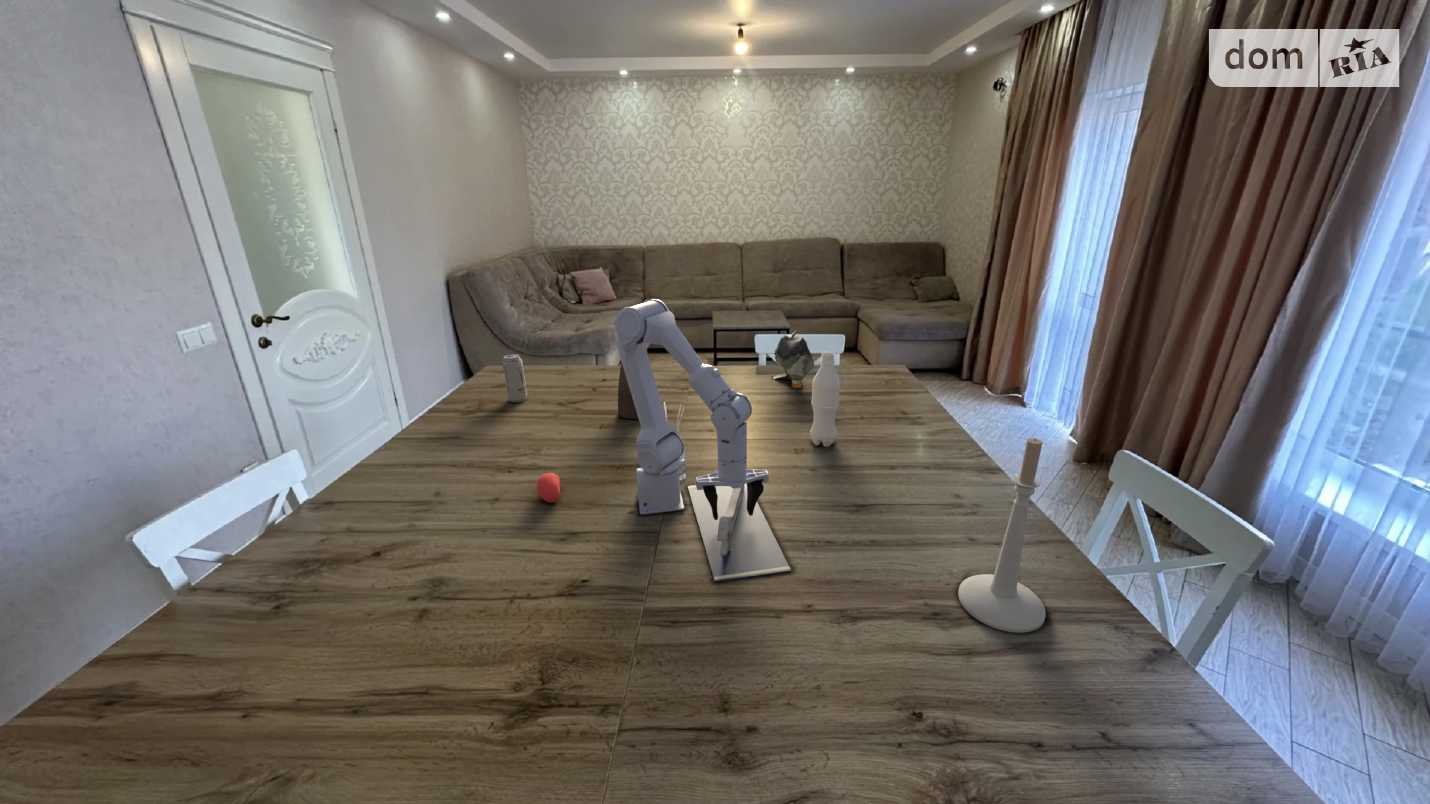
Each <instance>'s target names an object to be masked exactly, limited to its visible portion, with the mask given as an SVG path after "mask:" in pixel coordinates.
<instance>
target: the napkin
mask: <svg viewBox="0 0 1430 804" xmlns="http://www.w3.org/2000/svg"><path fill="white" fill-rule="evenodd" d="M715 488H716V492H717V495H718V499H717V512H718V520H714V518H713V514H712V508H711V505H710V503H709V501H708V500H707V498H706V496H705V494H704V491H703V489H702V490H697V488H696V484H691V485H687V490H688V495H689V497H690V500H691V504H692V507H693V510H694V514H695V518H696V521H697V525H698V528H699V533H700V536H701V538H702V543H703V545H704V549H705V552H706V553H705V554H706V556H707V560H708V562H709V566H710V570H711V573H712V578H713V581H714V583H717V582H726V581H732V580H739V579H747V578H753V577H762V576H769V575H774V574H781V573H789V572H792V568H791V567H790V566H789V563H788V562H787V558H786V557H785V555H784V552H783V551H782V549H781V547H780V545H779V543H778V540H777V539H776V537H775V535H774V533H773V530H772V528H771V527H770V525H769V522H768V520H767V518H766V517H765V515H764V512H763V511H762V508H761V507H760V505H759V503H758V501H757V502H756V505H755V508H754V511H753V515H752V516H749V514H748V511H747V483H746V484H744V491H743V495H742V498H741V502H740V505H739V509H738V512H737V516H736V520H735V523H734V527H733V534H732V541H731V551H728V553H727V554H726V555H725V556H722V555H720V547H721V542H719V541H717V535H718V526H719V521H720V517H721V516H724V515H725V514H726V511H727V508H728V504H729V501H730V498H731V495H732V492H733V488H731V487H730V486H716V487H715Z"/></svg>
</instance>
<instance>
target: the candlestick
mask: <svg viewBox="0 0 1430 804" xmlns="http://www.w3.org/2000/svg"><path fill="white" fill-rule="evenodd" d="M1043 444H1044V443H1043V441H1042V440H1041V439H1038V438H1036V437H1034V438H1033V437H1029V438H1027V439H1026V444H1025V449H1024V452H1023V457H1022V462H1021V466H1020V467H1021V468H1020V473H1019V475H1015V476H1013V477H1012V481H1013V482H1014V483H1015V486H1014V491H1015V493H1016V498H1015V499H1014V500H1013V504H1012V505H1013V506H1012V509H1011V514H1010V516H1009V519H1008V523H1007V527H1006V530H1005V534H1004V538H1003V541H1002V546H1001V549H1000V552H999V556H998V561H997V563H996V567H995V570H994V574H991V573H990V574H989V573H985V574H976V575H972V576H969V577H967V578H965V579H964V580H963V581H962V582H961V583H960V584H959V587H958V592H957V595H958V600H959V602H960V604H961V606H962V607H963V608H964V610H965V611H966V612H967V613H968V614H969V615H970V616H972V617H973V618H974V619H976V620H977V621H979V622H981V624H982V623H983V624H984V625H987V626H988V627H991V628H994V629H996V630H1000V631H1003V632H1009V633H1015V634H1016V633H1017V634H1018V633H1019V634H1020V633H1022V634H1024V633H1030V632H1034V631H1036V630H1038V629H1040V628H1041V627H1042V626H1043V625H1044V623H1045V622H1046V621H1045V620H1046V617H1047V616H1046V615H1047V613H1046V608H1045V605H1044V603H1043V602H1042V600H1041V599H1040V598H1039V597H1038V595H1037V594H1036V593H1035V592H1033V591H1032V590H1031V589H1029V588H1028V587H1026V585H1024V584H1023V583H1020V582H1018V580H1019V576H1020V575H1019V574H1020V568H1021V562H1022V554H1023V548H1024V541H1025V535H1026V527H1027V521H1028V514H1029V507H1030V502H1029V500H1030V498H1031V497H1032V496H1033V495H1034V494H1035V489H1037V488H1039V487H1040V486H1041V483H1040V481H1039V480H1037V479H1036V476H1037V475H1036V474H1037V470H1038V466H1039V461H1040V456H1041V453H1042V448H1043Z"/></svg>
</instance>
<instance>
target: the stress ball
mask: <svg viewBox="0 0 1430 804" xmlns="http://www.w3.org/2000/svg"><path fill="white" fill-rule="evenodd" d="M560 483H561V480H560V477H559V476H558V474H556V473H554V472H546V473H543V474H542V475H541V476H540V477H539V478H538V479H537V483H536V490H537V493H538V496H539V497H540V498H541V499H542V501H545V502H547V503H550V504H551V503H552V504H553V503H555V502H557V501H558V500H559V498H560V497H561V487H560Z"/></svg>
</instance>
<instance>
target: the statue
mask: <svg viewBox="0 0 1430 804" xmlns="http://www.w3.org/2000/svg"><path fill="white" fill-rule="evenodd" d="M617 413H618V414H617V415H618V416H619V417H621V418H624V419H627V420H639V418H638V415H637V412H636V408H635V405H634V401H633V398H632V395H631V391H630V388H629V385H628V381H627V378H626V375H625V371H624V368H623V365H622V362H621V364H620V368H619V375H618V388H617Z"/></svg>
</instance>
